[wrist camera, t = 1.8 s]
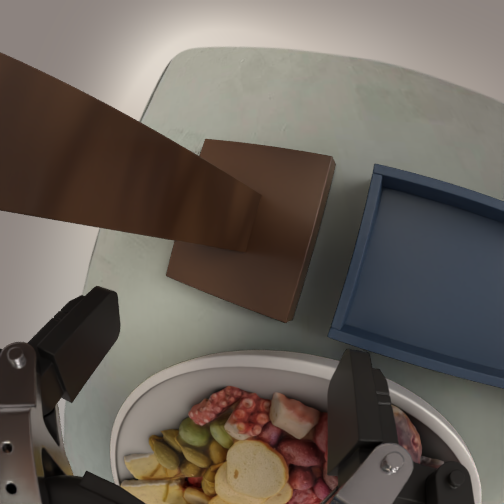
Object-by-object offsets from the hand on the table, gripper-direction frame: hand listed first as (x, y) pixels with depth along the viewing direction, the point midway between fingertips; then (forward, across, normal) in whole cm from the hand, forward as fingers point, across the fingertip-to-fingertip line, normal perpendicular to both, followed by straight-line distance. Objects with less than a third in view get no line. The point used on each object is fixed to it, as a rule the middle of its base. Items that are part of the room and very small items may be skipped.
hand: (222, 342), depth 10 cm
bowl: (+2, -7, +19) cm, 21 cm away
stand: (+13, -1, +1) cm, 13 cm away
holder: (+7, -16, -1) cm, 18 cm away
